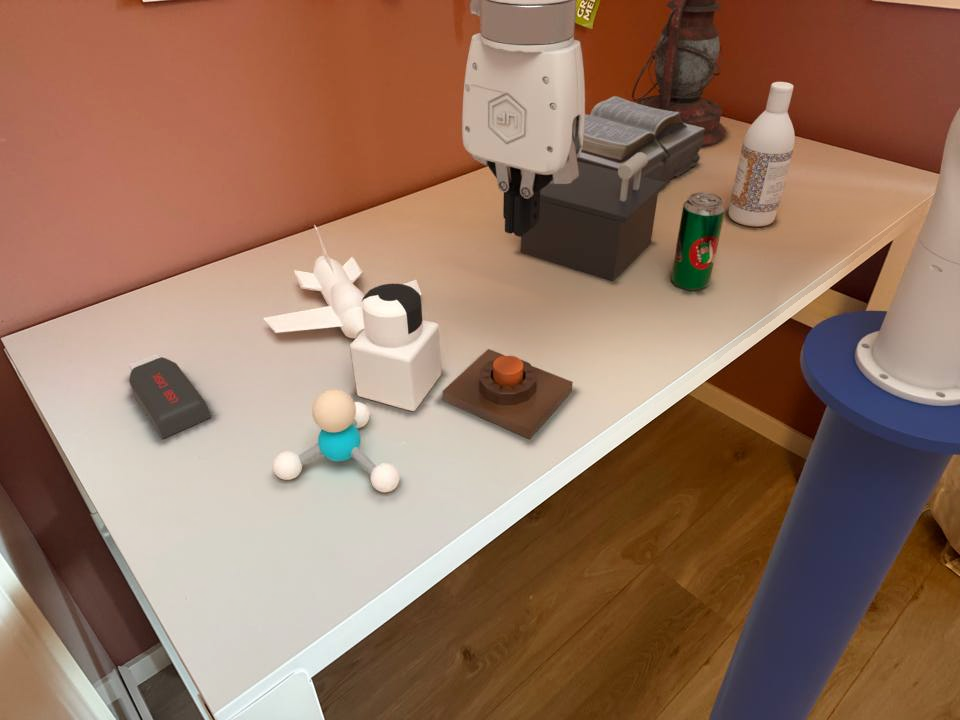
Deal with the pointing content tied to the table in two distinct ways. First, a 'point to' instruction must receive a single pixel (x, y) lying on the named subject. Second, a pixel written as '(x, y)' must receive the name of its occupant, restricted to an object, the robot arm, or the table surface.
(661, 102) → the lantern
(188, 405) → the usb drive
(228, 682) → the table surface
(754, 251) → the table surface
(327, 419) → the molecule model
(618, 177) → the door
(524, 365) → the brown base plate
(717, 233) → the soda can
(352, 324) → the airplane model
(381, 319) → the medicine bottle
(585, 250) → the dark grey box
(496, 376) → the button
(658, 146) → the bible
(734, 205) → the bath foam
